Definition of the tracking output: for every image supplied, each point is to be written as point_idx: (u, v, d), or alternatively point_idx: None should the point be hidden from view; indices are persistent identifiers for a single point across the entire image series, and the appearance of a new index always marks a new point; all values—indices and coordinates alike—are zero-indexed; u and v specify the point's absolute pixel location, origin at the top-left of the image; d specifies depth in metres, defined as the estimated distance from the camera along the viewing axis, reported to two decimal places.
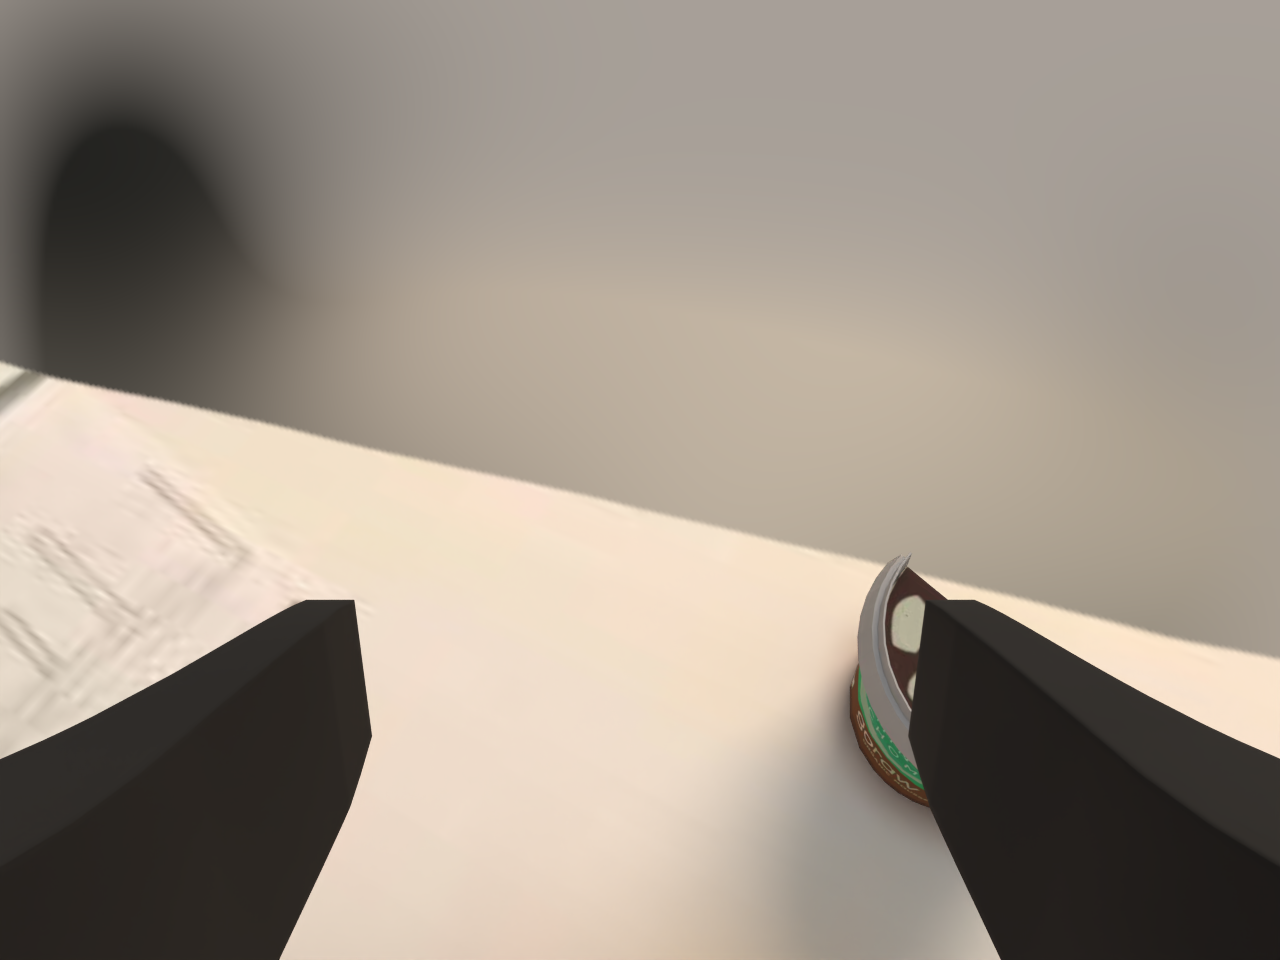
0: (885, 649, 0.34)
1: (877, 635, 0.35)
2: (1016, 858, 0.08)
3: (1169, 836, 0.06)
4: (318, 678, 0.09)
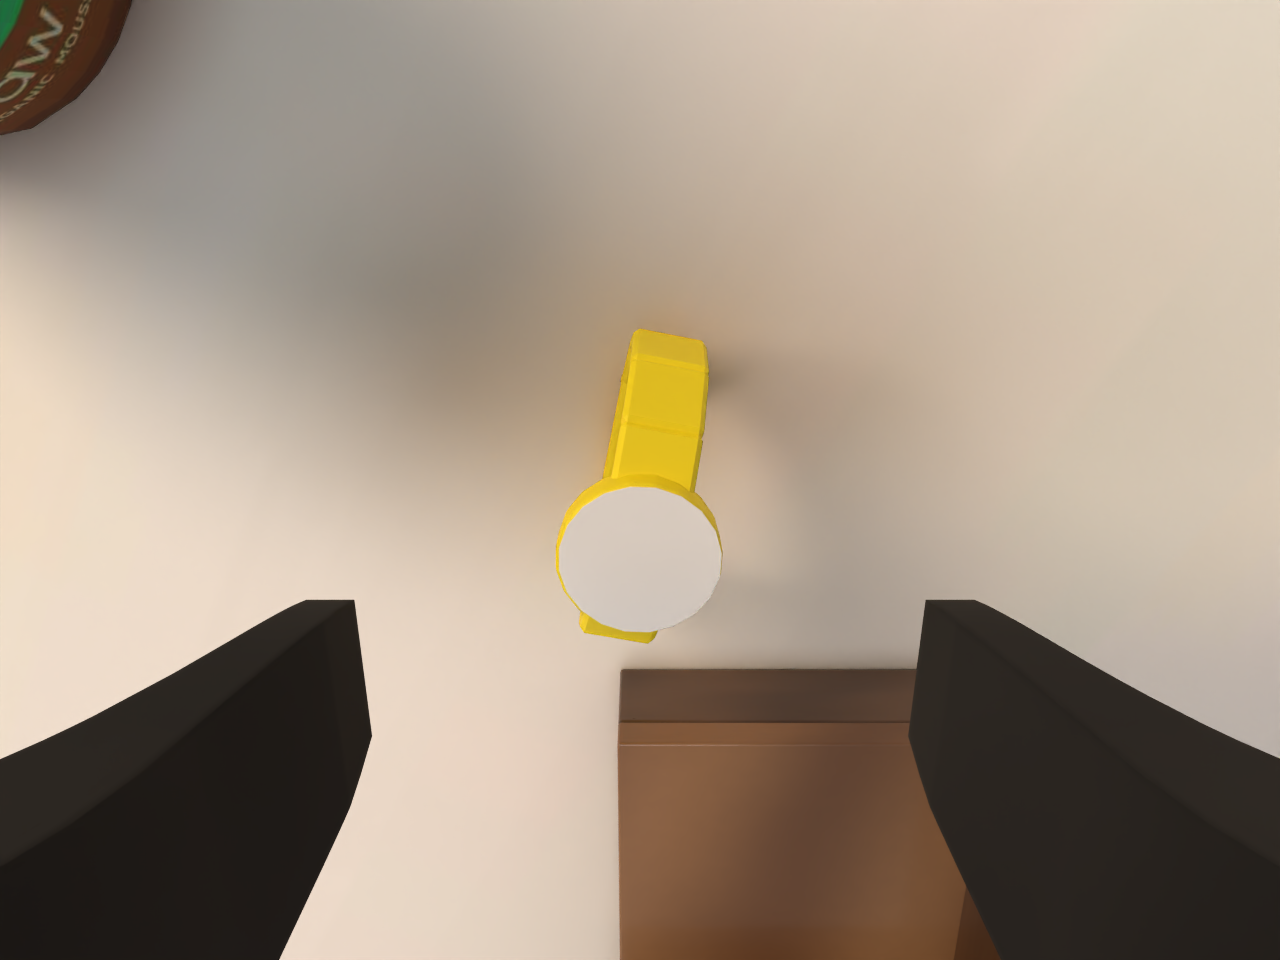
0: None
1: None
2: (1016, 858, 0.08)
3: (1168, 835, 0.06)
4: (318, 678, 0.09)
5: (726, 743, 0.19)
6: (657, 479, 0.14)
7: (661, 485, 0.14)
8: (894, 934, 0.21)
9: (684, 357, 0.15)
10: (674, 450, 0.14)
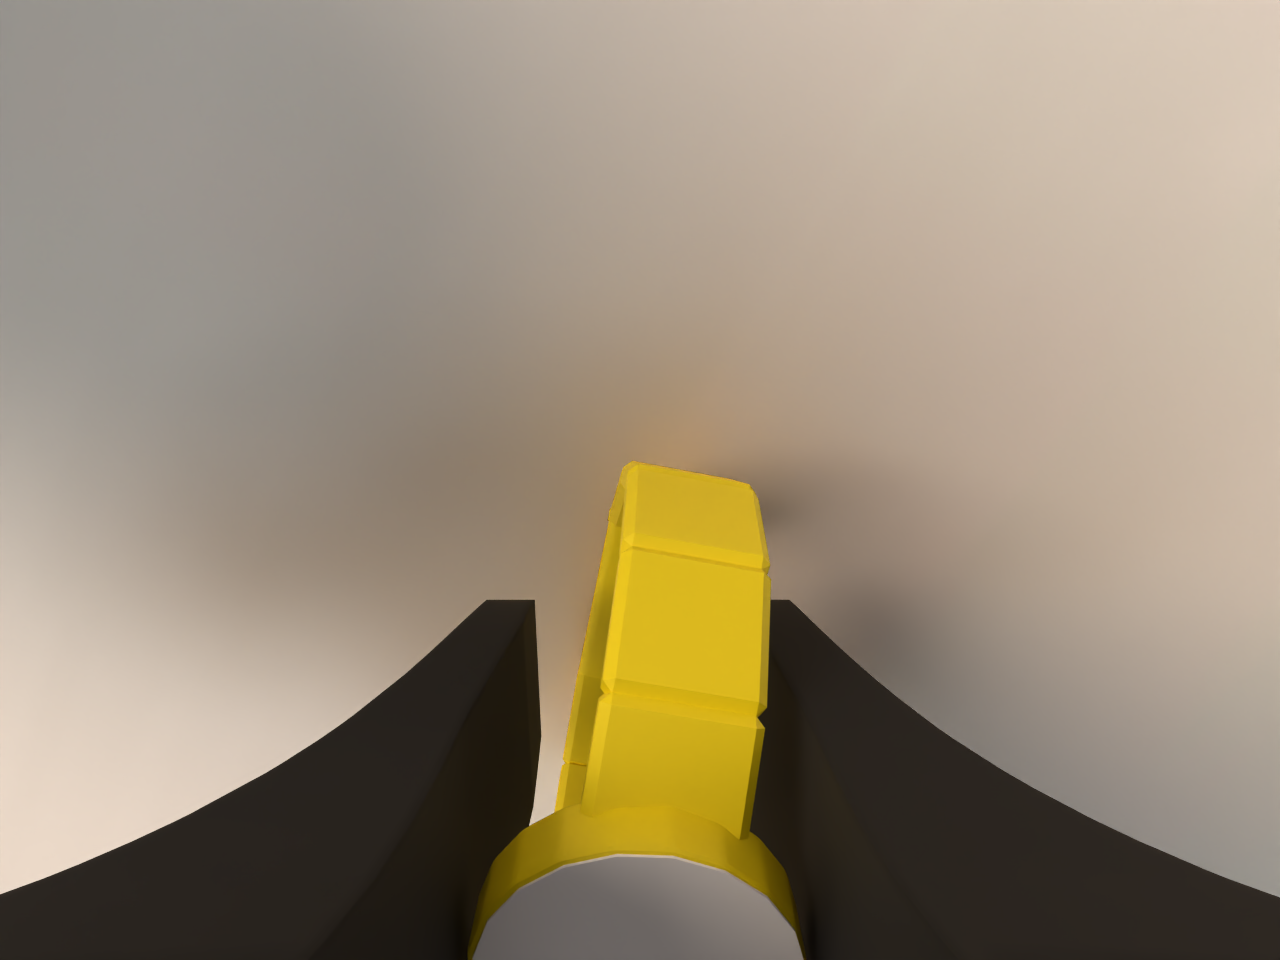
0: None
1: None
2: (783, 858, 0.08)
3: (844, 837, 0.06)
4: (519, 678, 0.09)
5: None
6: (674, 823, 0.07)
7: (683, 840, 0.07)
8: None
9: (724, 536, 0.08)
10: (710, 753, 0.07)
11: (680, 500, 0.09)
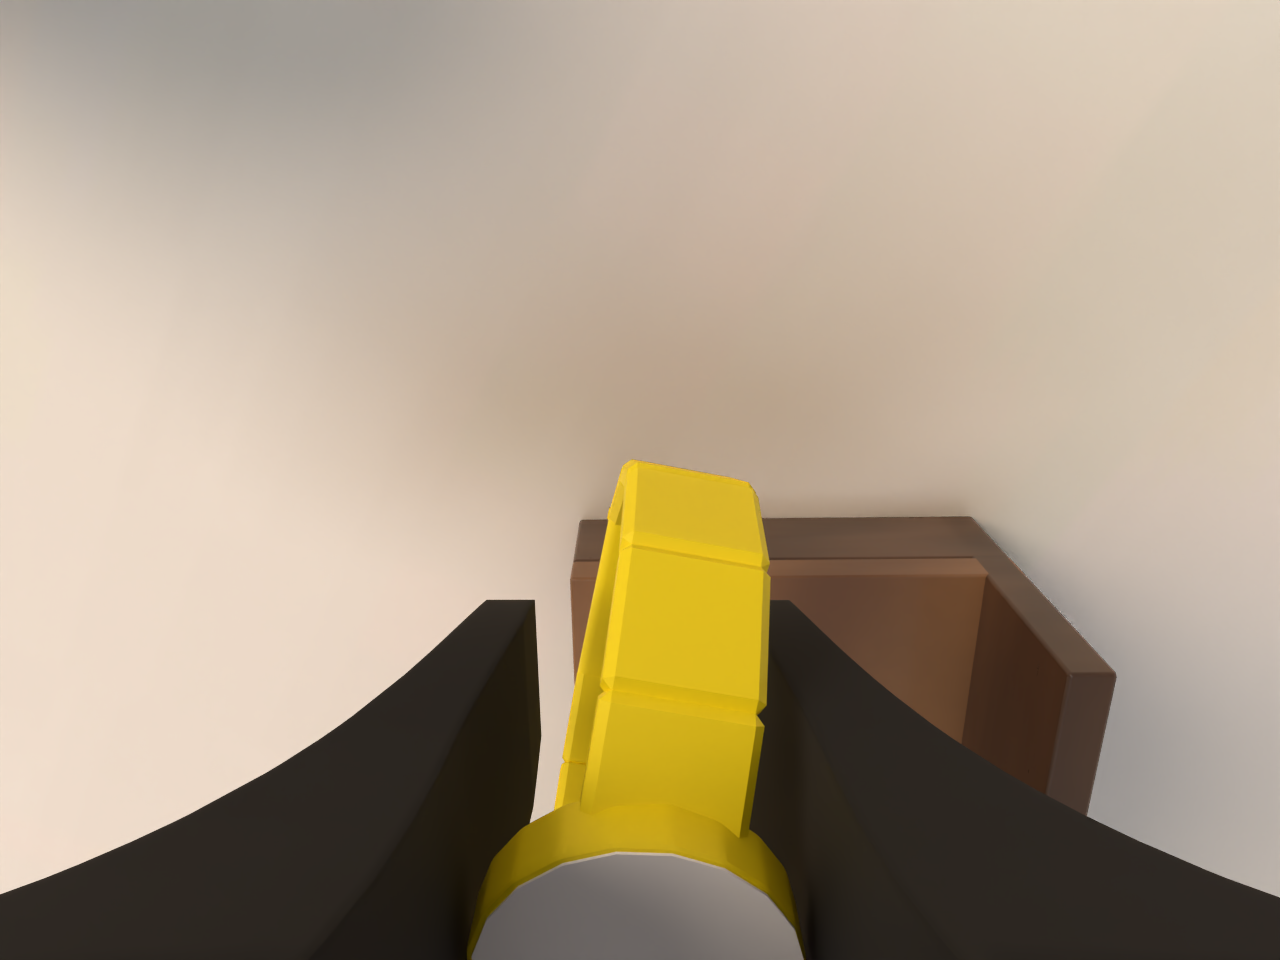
0: None
1: None
2: (783, 858, 0.08)
3: (844, 836, 0.06)
4: (519, 678, 0.09)
5: None
6: (674, 821, 0.07)
7: (682, 837, 0.07)
8: None
9: (723, 534, 0.08)
10: (709, 750, 0.07)
11: (680, 498, 0.09)
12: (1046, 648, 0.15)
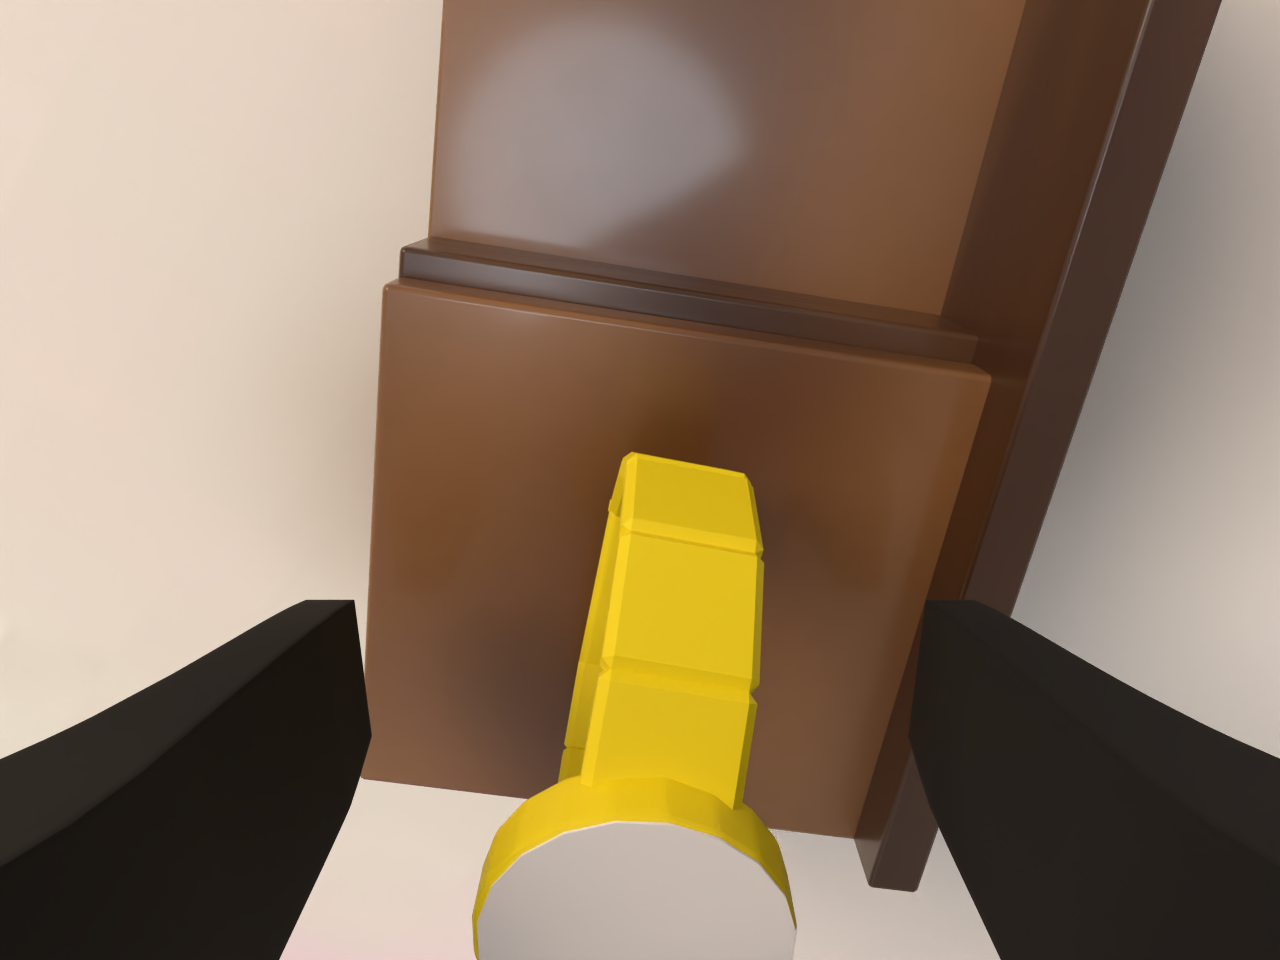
0: None
1: None
2: (1016, 858, 0.08)
3: (1169, 836, 0.06)
4: (318, 678, 0.09)
5: None
6: (670, 793, 0.07)
7: (678, 808, 0.07)
8: (877, 166, 0.13)
9: (718, 522, 0.08)
10: (703, 726, 0.07)
11: (677, 487, 0.09)
12: None
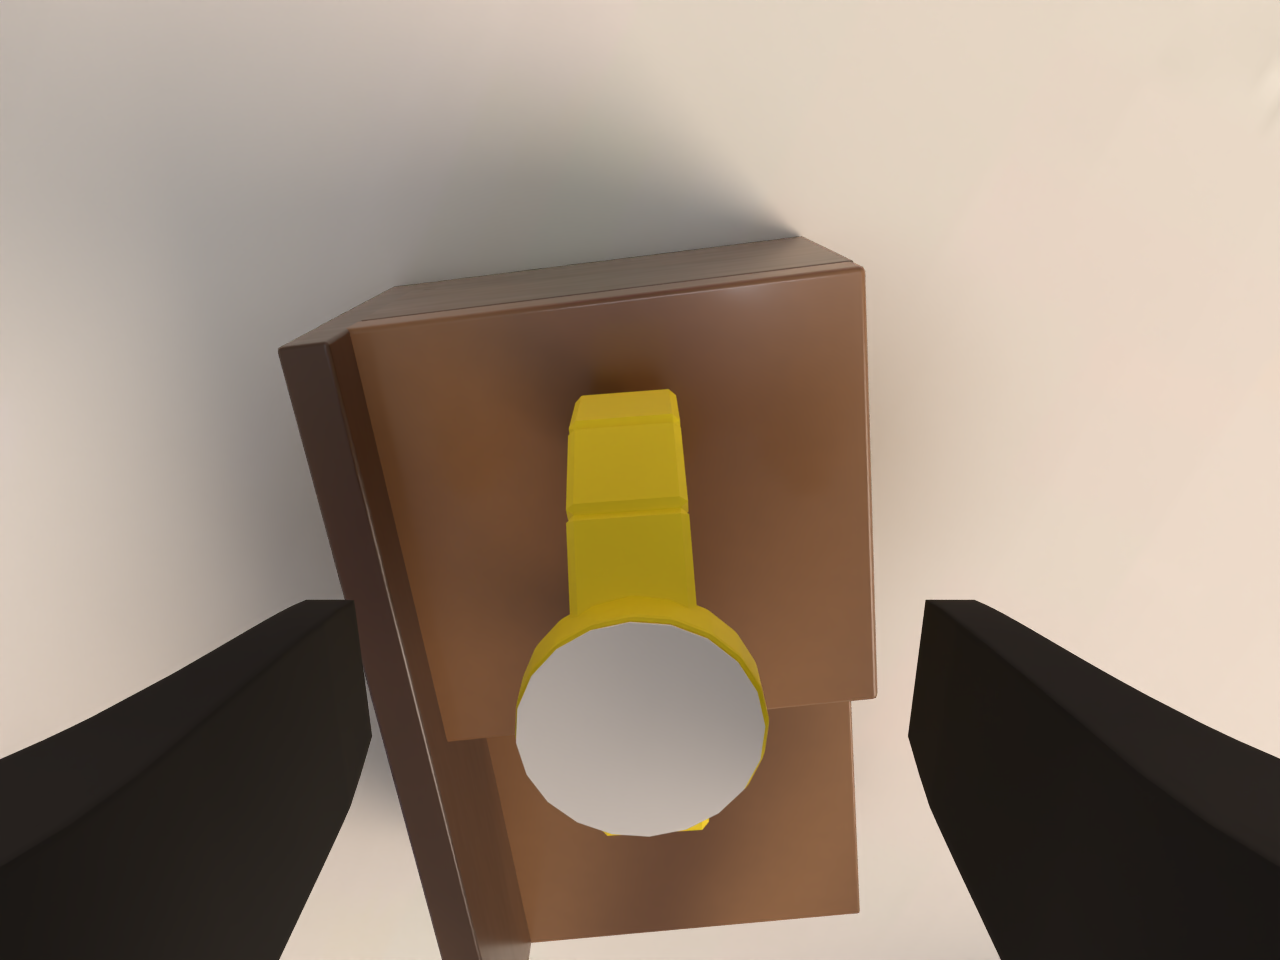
0: None
1: None
2: (1016, 858, 0.08)
3: (1168, 836, 0.06)
4: (318, 678, 0.09)
5: None
6: None
7: None
8: None
9: None
10: None
11: None
12: None
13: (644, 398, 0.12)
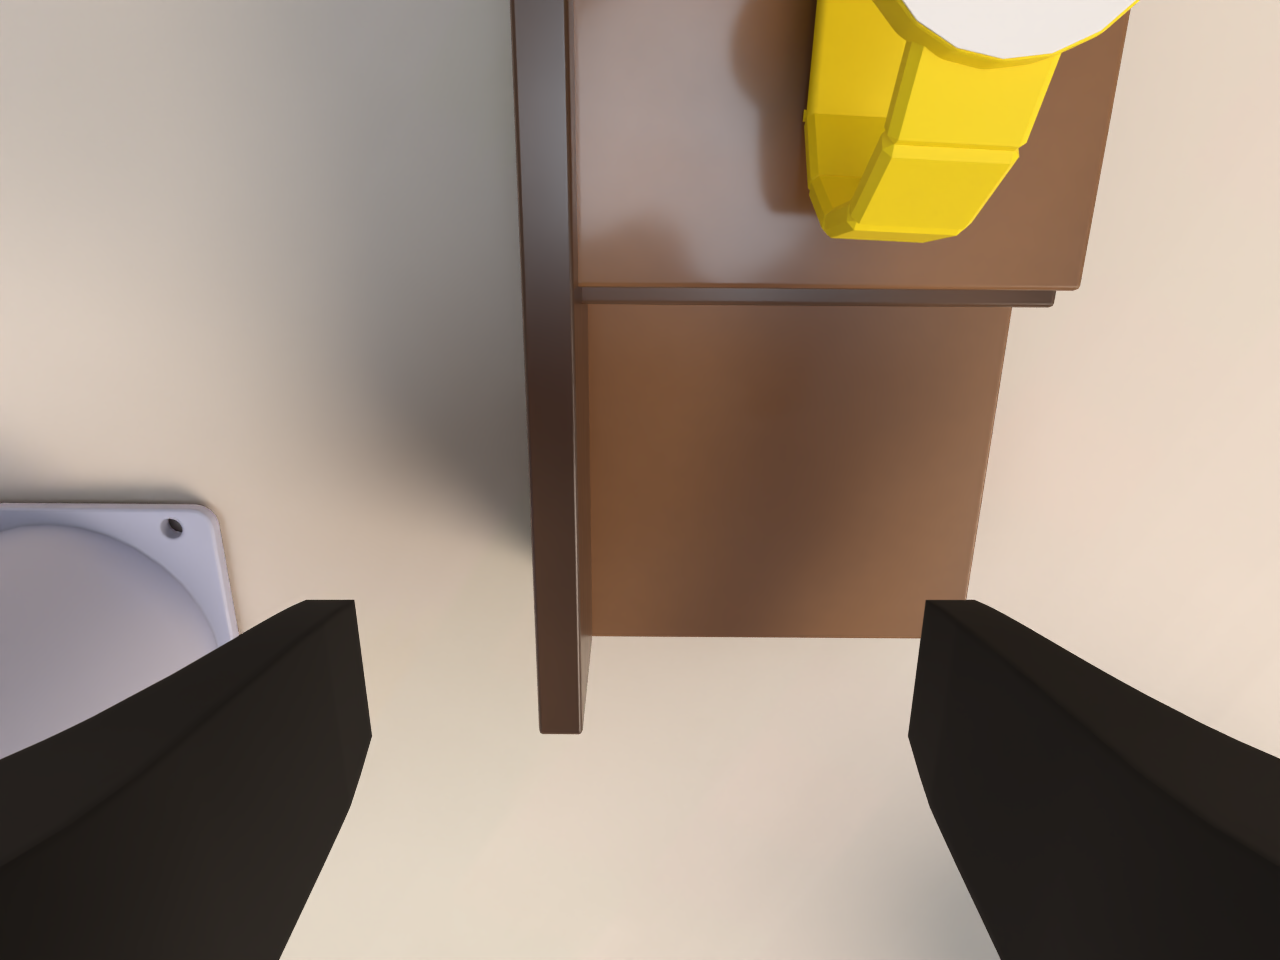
0: None
1: None
2: (1016, 858, 0.08)
3: (1168, 835, 0.06)
4: (318, 678, 0.09)
5: None
6: (986, 65, 0.08)
7: (984, 58, 0.08)
8: (666, 394, 0.17)
9: (879, 232, 0.10)
10: (942, 116, 0.08)
11: (900, 238, 0.11)
12: (584, 707, 0.17)
13: None
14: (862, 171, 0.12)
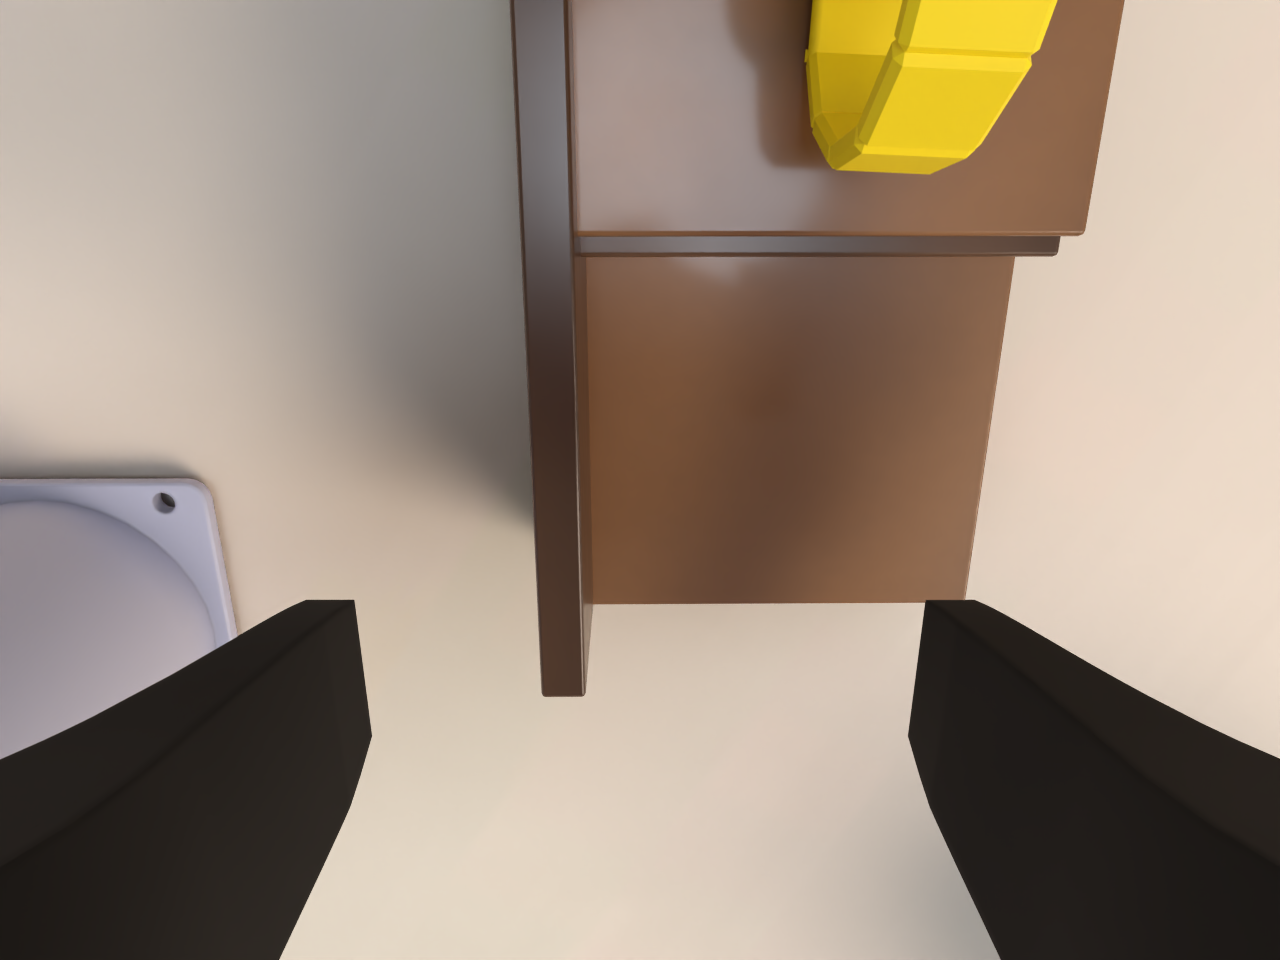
0: None
1: None
2: (1016, 858, 0.08)
3: (1168, 835, 0.06)
4: (318, 678, 0.09)
5: None
6: None
7: None
8: (665, 354, 0.17)
9: (887, 157, 0.10)
10: (954, 20, 0.08)
11: (907, 167, 0.11)
12: None
13: None
14: None
